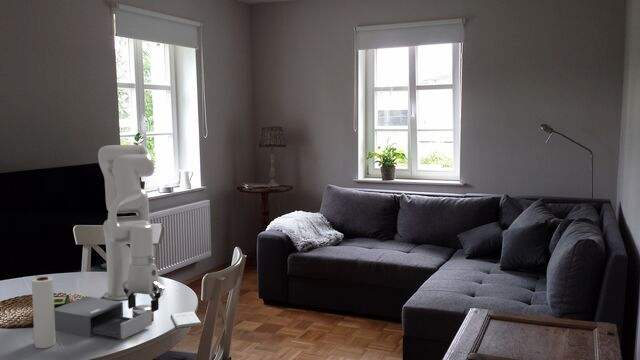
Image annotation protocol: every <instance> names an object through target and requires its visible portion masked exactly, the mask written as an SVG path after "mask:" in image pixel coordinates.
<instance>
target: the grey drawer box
mask: <svg viewBox="0 0 640 360" xmlns="http://www.w3.org/2000/svg"><path fill="white" fill-rule="evenodd" d="M54 312H55V332H60V333H63V334H70V335H74V336H80V337H85V338H92V337H93V336H95V335H97V334H96V333H91V325H93V324H96V323H98V322H100V321H102V320H105V319H107V318H109V317H111V316H113V317H120V316H121V317H124V305H123V301H119V300H108V299H105V298H100V297H99V298H98V297H93V296H84V297H82V298H80V299H77V300H73V301H70V302H68V303H66V304H63V305H60V306H58V307H54Z"/></svg>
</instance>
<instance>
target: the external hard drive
mask: <svg viewBox="0 0 640 360" xmlns="http://www.w3.org/2000/svg"><path fill="white" fill-rule="evenodd" d="M171 316H172V317H171ZM170 317H171V319H172V318H173V319H172V321H173V320H174V321H173V323H174V322H175V323H174V325H175V324H176V325H175V327H176V326H177V327H176V328H177V329H179V328H181V329H182V328H186V327H188V328H189V327H194V326H201V325H202V322H201V320H200V319H199V318H198V316H197V314H196V313H195V311H185V312H178V313H177V312H176V313H171V314H170Z"/></svg>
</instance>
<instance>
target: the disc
mask: <svg viewBox="0 0 640 360" xmlns="http://www.w3.org/2000/svg"><path fill="white" fill-rule="evenodd" d="M131 311H132V312H131V313H132V314H133V315H134V316H138V315H141V314H143V313H145V312H147V311H151V304H139V305H136V306H135V307H133V308H131ZM152 314H153V312H152Z"/></svg>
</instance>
